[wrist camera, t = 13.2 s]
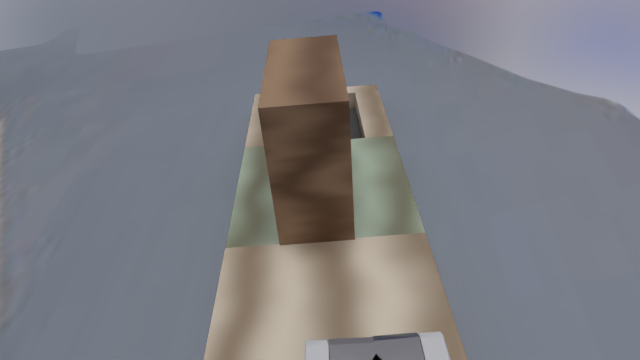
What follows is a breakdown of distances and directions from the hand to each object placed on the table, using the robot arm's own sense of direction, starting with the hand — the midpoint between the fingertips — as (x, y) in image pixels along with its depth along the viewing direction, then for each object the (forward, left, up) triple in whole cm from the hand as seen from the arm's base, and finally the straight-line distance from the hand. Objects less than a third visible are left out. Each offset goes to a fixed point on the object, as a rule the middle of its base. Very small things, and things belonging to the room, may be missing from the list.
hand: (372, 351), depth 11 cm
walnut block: (-2, +29, -16) cm, 33 cm away
